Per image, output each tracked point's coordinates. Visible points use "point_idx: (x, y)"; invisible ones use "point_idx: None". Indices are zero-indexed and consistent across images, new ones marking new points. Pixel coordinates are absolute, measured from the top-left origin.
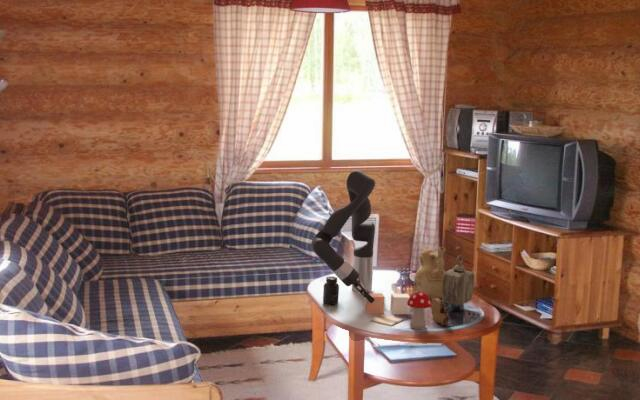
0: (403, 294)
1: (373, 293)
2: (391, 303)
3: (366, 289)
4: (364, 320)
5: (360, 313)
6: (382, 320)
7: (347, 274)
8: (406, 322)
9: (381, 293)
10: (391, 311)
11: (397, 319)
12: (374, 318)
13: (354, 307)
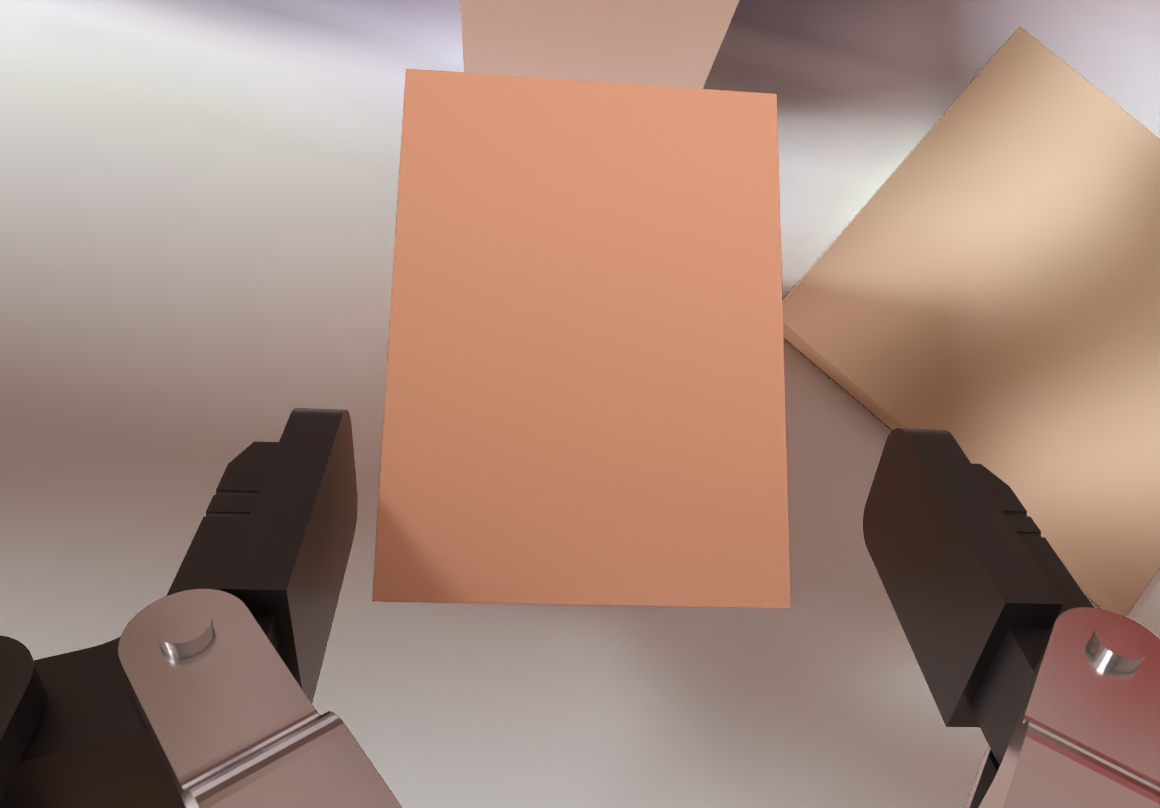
0: None
1: (401, 332)
2: (532, 5)
3: (1029, 720)
4: None
5: (656, 729)
6: (1150, 395)
7: None
8: (1109, 17)
9: (410, 89)
10: None
11: (1068, 123)
12: (1053, 521)
13: None
